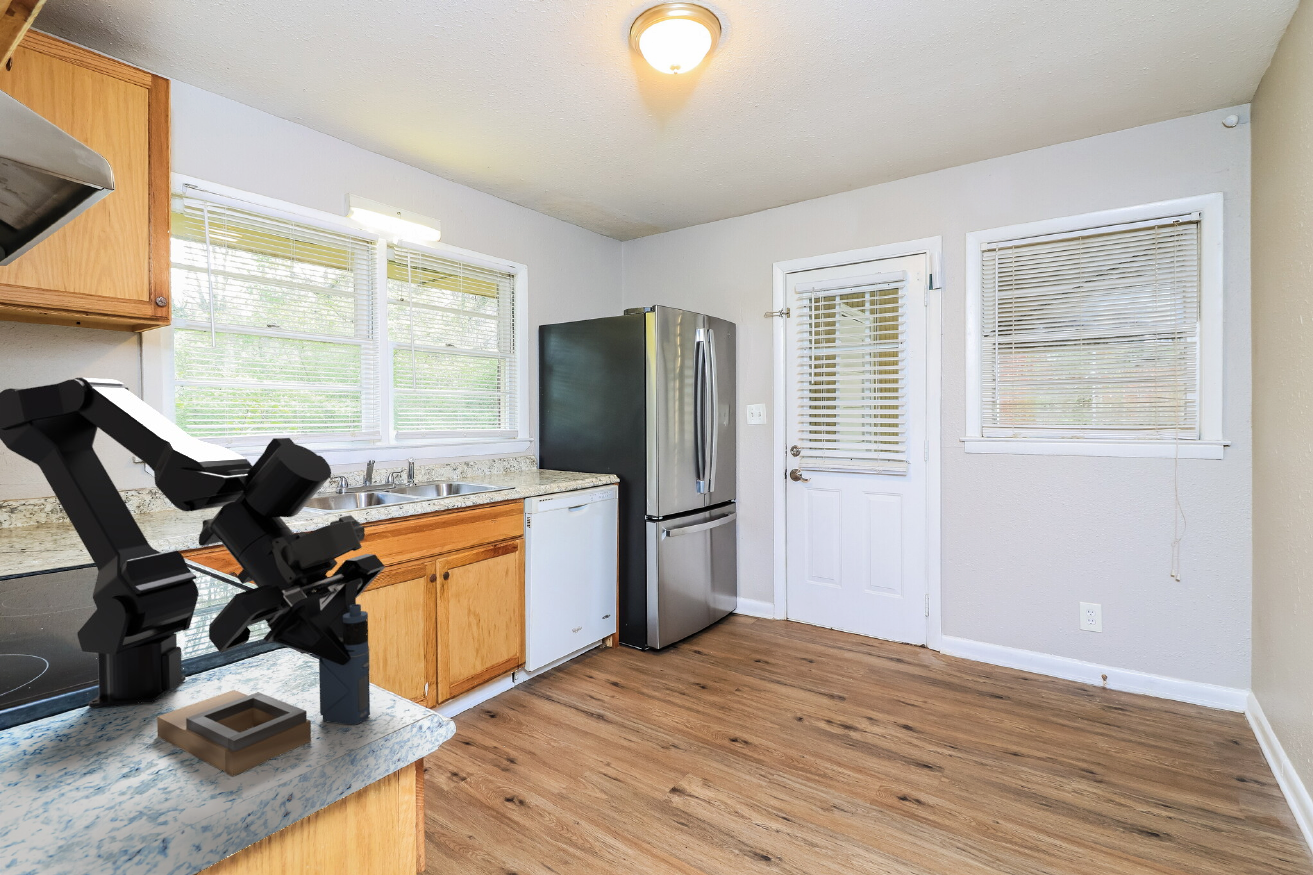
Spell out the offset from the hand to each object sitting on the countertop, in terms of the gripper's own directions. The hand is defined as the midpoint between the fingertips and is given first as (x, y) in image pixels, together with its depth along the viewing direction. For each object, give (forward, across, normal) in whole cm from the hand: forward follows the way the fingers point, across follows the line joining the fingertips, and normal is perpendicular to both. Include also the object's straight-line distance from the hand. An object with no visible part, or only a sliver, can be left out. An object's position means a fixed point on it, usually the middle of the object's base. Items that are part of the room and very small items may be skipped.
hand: (356, 657), depth 65 cm
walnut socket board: (-2, -6, +11) cm, 13 cm away
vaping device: (+4, 0, +6) cm, 7 cm away
